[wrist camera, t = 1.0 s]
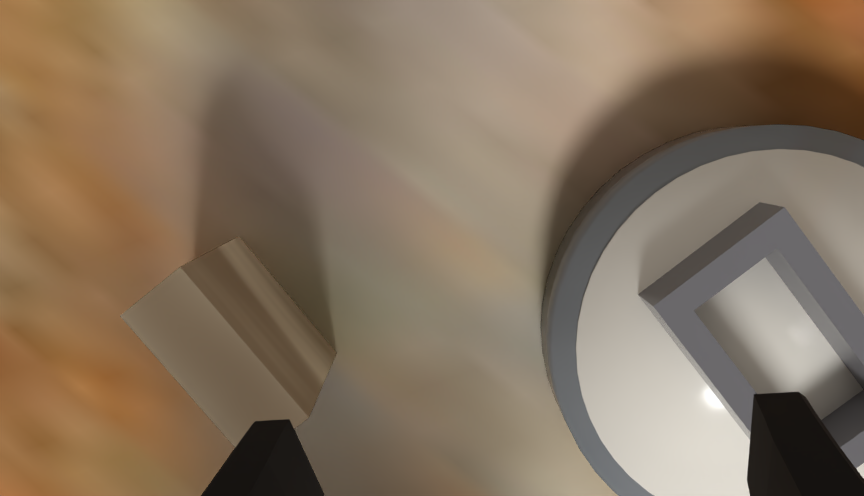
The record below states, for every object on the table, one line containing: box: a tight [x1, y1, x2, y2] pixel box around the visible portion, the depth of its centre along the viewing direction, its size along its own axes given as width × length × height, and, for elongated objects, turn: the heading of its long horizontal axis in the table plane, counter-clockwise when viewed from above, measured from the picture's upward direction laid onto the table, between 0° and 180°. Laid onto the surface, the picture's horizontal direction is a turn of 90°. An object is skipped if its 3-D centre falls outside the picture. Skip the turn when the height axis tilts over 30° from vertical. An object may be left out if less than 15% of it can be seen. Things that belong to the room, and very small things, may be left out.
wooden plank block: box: [120, 237, 336, 447], centre depth 22 cm, size 2×5×6 cm, turn 38°
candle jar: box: [541, 125, 864, 496], centre depth 23 cm, size 13×13×4 cm
